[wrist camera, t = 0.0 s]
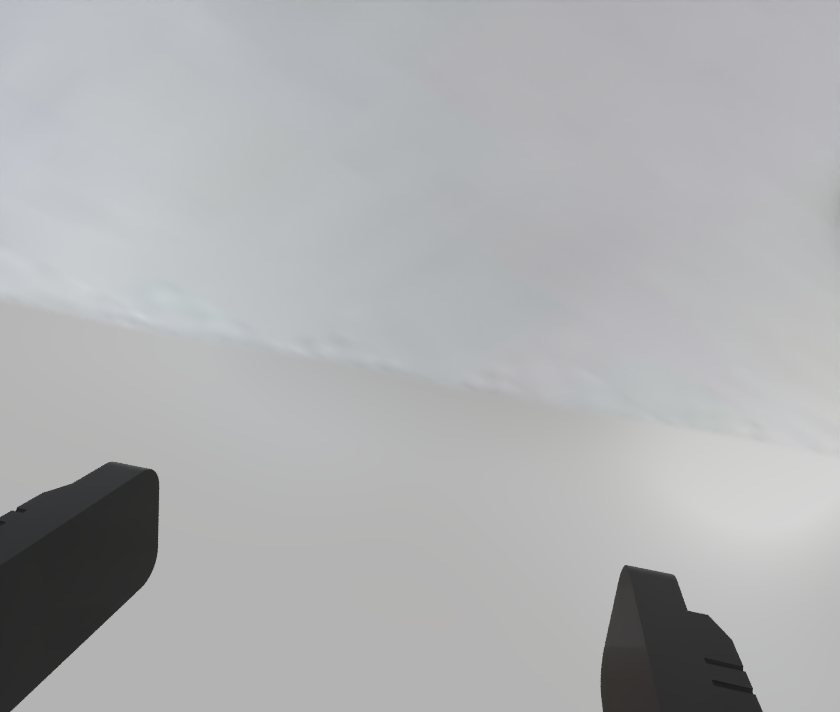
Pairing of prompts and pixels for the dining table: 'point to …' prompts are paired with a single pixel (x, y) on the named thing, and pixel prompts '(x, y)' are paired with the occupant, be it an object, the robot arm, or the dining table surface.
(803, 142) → the dining table surface
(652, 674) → the robot arm
